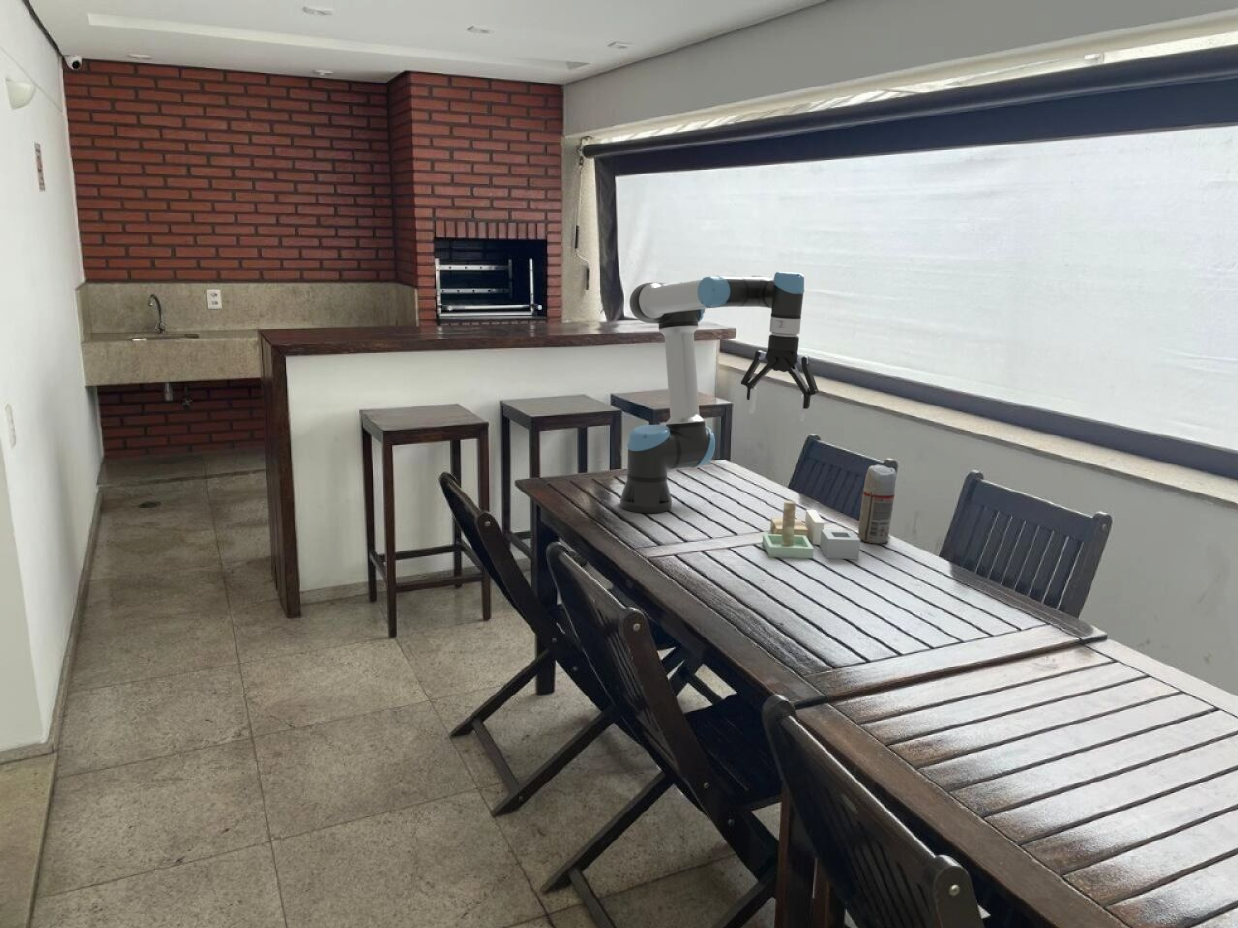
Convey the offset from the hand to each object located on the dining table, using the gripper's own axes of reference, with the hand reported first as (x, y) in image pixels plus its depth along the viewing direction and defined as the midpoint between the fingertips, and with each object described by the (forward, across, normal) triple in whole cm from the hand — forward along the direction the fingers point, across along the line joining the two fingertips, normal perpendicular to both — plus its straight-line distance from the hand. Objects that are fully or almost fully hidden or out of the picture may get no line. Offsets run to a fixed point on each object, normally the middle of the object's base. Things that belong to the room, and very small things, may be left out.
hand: (776, 417), depth 249 cm
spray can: (+32, +25, +15) cm, 43 cm away
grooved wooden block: (+33, +5, +3) cm, 33 cm away
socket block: (+32, +21, -2) cm, 38 cm away
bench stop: (+32, +11, +7) cm, 35 cm away
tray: (+32, +9, -8) cm, 34 cm away
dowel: (+31, +9, -8) cm, 34 cm away
